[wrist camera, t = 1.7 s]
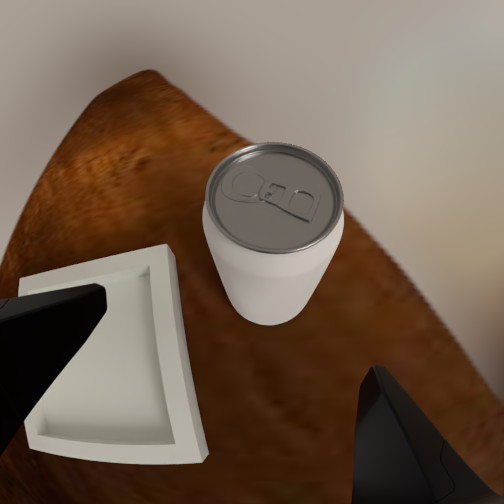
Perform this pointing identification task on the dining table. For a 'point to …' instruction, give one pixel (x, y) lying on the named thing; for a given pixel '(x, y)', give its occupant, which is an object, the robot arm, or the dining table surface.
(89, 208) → the dining table surface
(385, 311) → the dining table surface
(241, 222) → the can
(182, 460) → the tray
